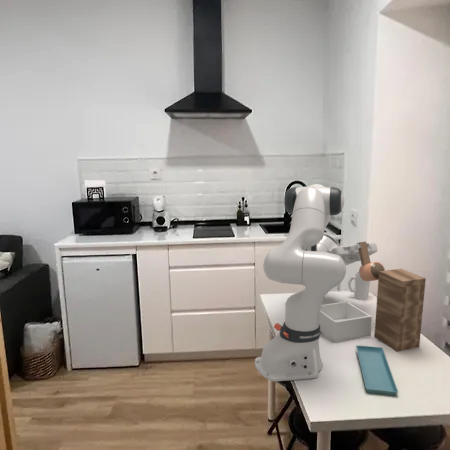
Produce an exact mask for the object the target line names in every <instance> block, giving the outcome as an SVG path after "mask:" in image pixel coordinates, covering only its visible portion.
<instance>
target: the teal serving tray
mask: <svg viewBox="0 0 450 450" xmlns="http://www.w3.org/2000/svg"><path fill="white" fill-rule="evenodd" d="M355 348H356V352H357V357H358V360H359V361H358V362H359V365H360V370H361V373H362V378H363V382H364V386H365V387H364V388H365V390H366V392H367V393H369V394H380V395H381V394H382V395H388V396H395V395H397V394H398V393H399V390H398V387H397V385H396V382H395V379H394V376H393V373H392V371H391V368H390V367H391V366H390V364H389V361H388V359H387V357H386V354H385V351H384V348H383V347H380V346H379V347H378V346H370V345H369V346H367V345H359V344H358V345H355Z"/></svg>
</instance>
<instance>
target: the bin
mask: <svg viewBox="0 0 450 450" xmlns="http://www.w3.org/2000/svg"><path fill="white" fill-rule="evenodd" d="M372 318H373V317H372V315H370V313H369V314H368V313H367V312H365V311H364V310H362V309H360V308H358V307H357V306H356V305H353V304H352V303H350V302H349V301H339V302H334V303H333V302H332V303H328V304H327V303H326V304H321V308H320V317H319V324H320V331H321V332H320V333H322V334H323V335H324V336H325V335H326V338H328V340H330V341H332V342H333V343H339V342H345V341H350V340H357V339H360V338H361V339H362V338H367V337H368V338H369V337H371V336H372V334H371V330H372V321H373V320H372Z"/></svg>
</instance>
